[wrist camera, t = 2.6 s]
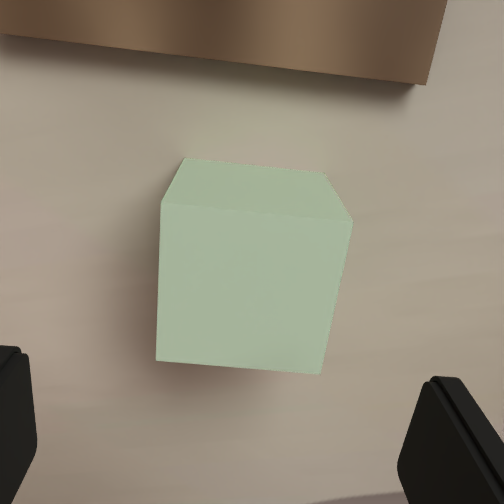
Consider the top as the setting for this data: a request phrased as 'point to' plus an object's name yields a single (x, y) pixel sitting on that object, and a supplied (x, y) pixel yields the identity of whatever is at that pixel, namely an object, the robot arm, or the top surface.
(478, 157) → the top surface
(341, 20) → the base board
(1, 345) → the robot arm
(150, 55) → the top surface
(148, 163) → the top surface
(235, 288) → the sage block
